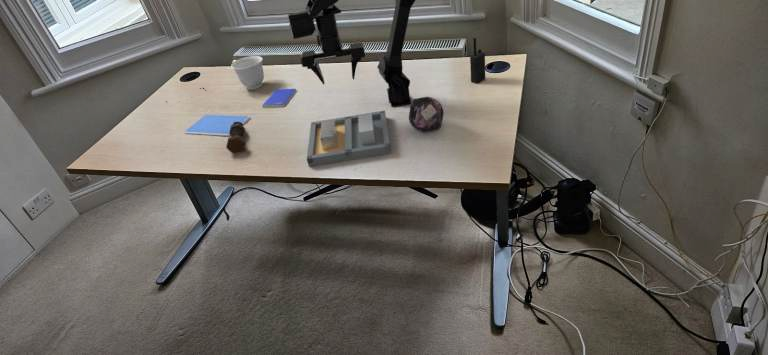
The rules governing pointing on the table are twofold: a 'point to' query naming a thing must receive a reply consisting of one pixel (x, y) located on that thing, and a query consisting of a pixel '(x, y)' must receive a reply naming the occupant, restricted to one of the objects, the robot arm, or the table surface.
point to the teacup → (249, 71)
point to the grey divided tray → (351, 139)
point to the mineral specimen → (426, 114)
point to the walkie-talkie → (477, 65)
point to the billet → (328, 134)
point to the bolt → (236, 138)
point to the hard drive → (279, 98)
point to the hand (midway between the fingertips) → (338, 81)
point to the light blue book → (215, 125)
